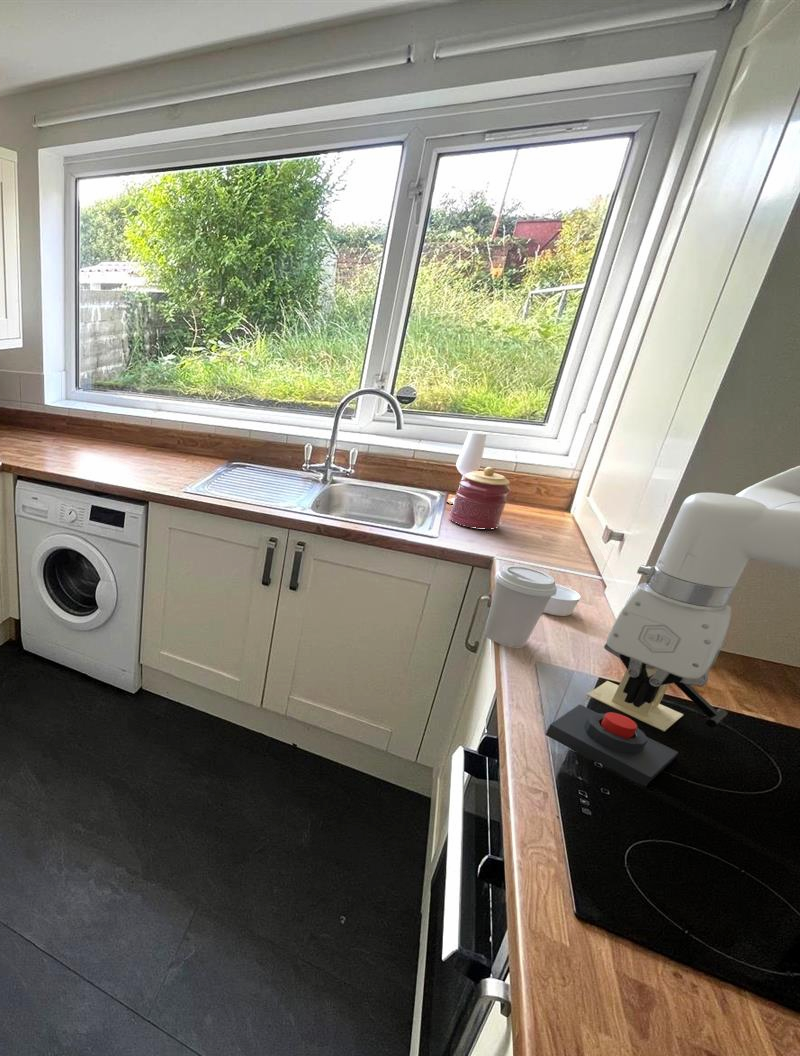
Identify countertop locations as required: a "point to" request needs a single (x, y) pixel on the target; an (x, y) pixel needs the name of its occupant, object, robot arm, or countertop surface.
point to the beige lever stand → (646, 712)
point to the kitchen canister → (480, 499)
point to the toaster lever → (703, 705)
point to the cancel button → (619, 725)
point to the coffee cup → (517, 604)
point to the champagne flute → (471, 454)
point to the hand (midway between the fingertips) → (635, 701)
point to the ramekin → (562, 601)
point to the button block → (611, 745)
